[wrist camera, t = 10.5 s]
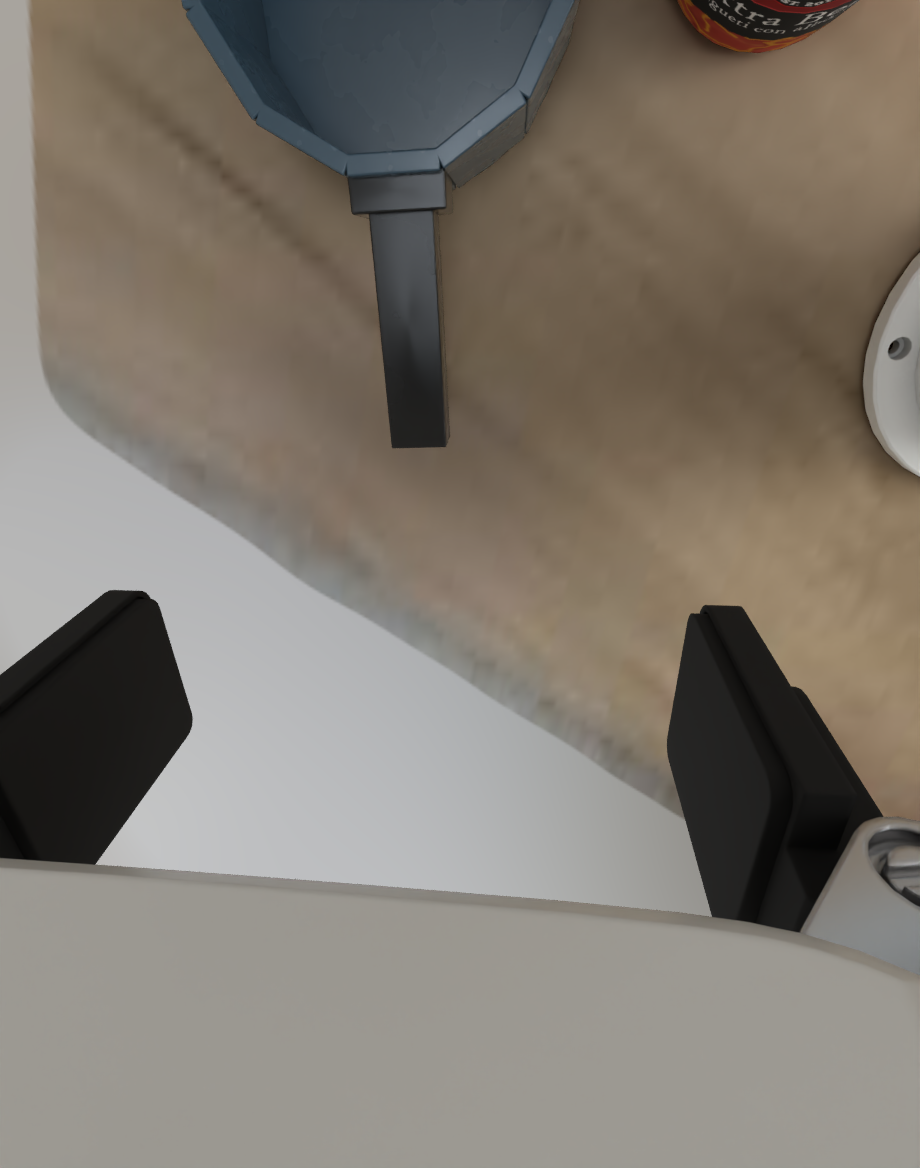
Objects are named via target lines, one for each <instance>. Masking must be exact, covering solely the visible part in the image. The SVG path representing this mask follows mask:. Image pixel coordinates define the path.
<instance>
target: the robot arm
mask: <svg viewBox="0 0 920 1168" xmlns="http://www.w3.org/2000/svg"><path fill="white" fill-rule="evenodd" d="M892 342H893V347H892V349H891V350H890V351H888V348H889V346H890V344H891V343H892ZM863 391H864V401H865V410H866V413H867V416H868V419H869V422H870V425H871V427H872V430H873V433H874V434H875V436H876V437H877V439H878V441H879V442H880V444H881V445H882V447H883V448H884V450H885V451H886V452H887V453H888V454H889V455H890V456H891V457H892V458H893V459H894V460H896V461H897V462H898V463H899V464H900V465H901V466H902V467H903V468H905V469H907V470H909V471H910V472H912V473H914V474H916V475H917V476H919V477H920V253H919V254H918V255H917V256H916V257H915V258H914V259H913V260H912V261H911V263H910V264H909V266H908V267H907V269H906V270H905V272H904V273H903V275H902V276H901V277H900V279H899V280H898V282H897V283H896V285H895V286H894V288H893V289H892V291H891V292H890V294H889V296H888V298H887V300H886V302H885V304H884V306H883V308H882V311H881V313H880V315H879V317H878V319H877V321H876V323H875V326H874V329H873V332H872V336H871V339H870V342H869V346H868V349H867V352H866V358H865V367H864V376H863ZM191 727H192V713H191V709H190V706H189V703H188V699H187V696H186V693H185V689H184V687H183V683H182V680H181V676H180V673H179V670H178V666H177V663H176V660H175V657H174V654H173V650H172V647H171V644H170V640H169V637H168V634H167V630H166V628H165V624H164V621H163V617H162V614H161V611H160V607H159V606H158V603H157V602H156V601H155V600H153V599H150V597H149V595H148V594H147V593H145V592H143V591H123V590H110V591H108V592H106V593H104V594H103V595H102V596H100V597H99V598H98V599H97V600H95V601H94V602H93V603H92V604H90V605H89V606H88V607H86V608H85V609H84V610H82V611H81V612H80V613H79V614H77V615H76V616H75V617H74V618H72V619H71V620H70V621H68V622H67V623H66V624H65V625H63V626H62V627H61V628H59V629H58V630H57V631H56V632H54V633H53V634H52V635H51V636H49V637H48V638H47V639H46V640H44V641H43V642H42V643H40V644H39V645H38V646H37V647H35V648H34V649H33V650H32V651H30V652H29V653H28V654H26V655H25V656H24V657H22V658H21V659H20V660H19V661H17V662H16V663H15V664H14V665H12V666H11V667H10V668H9V669H7V670H6V671H5V672H3V673H2V674H1V675H0V1168H920V821H916V820H911V819H906V818H902V817H883V815H882V814H881V812H880V810H879V809H878V807H877V806H876V804H875V802H874V801H873V799H872V798H871V796H870V795H869V793H868V791H867V790H866V788H865V787H864V785H863V784H862V782H861V780H860V779H859V777H858V776H857V774H856V773H855V771H854V769H853V768H852V766H851V765H850V763H849V762H848V760H847V758H846V757H845V755H844V754H843V752H842V750H841V749H840V747H839V746H838V744H837V743H836V741H835V739H834V738H833V736H832V735H831V733H830V732H829V730H828V728H827V727H826V725H825V724H824V722H823V721H822V719H821V717H820V716H819V714H818V713H817V711H816V710H815V708H814V706H813V705H812V703H811V702H810V700H809V698H808V697H807V695H806V694H805V693H804V692H803V691H802V690H801V689H799V688H797V687H791V686H790V684H789V682H788V681H787V679H786V678H785V676H784V674H783V673H782V671H781V669H780V668H779V666H778V664H777V663H776V661H775V660H774V658H773V656H772V655H771V653H770V651H769V650H768V648H767V646H766V645H765V643H764V642H763V640H762V638H761V637H760V635H759V633H758V632H757V630H756V628H755V627H754V625H753V624H752V622H751V620H750V619H749V617H748V615H747V614H746V612H745V610H744V609H743V608H742V607H741V606H716V605H704V606H703V607H702V609H701V611H700V614H690V616H689V618H688V622H687V628H686V634H685V639H684V645H683V651H682V657H681V662H680V668H679V674H678V680H677V685H676V691H675V697H674V702H673V708H672V714H671V720H670V725H669V731H668V738H667V753H668V759H669V763H670V766H671V770H672V774H673V777H674V781H675V784H676V788H677V792H678V795H679V799H680V802H681V806H682V810H683V813H684V817H685V821H686V824H687V828H688V831H689V835H690V838H691V842H692V845H693V849H694V852H695V856H696V860H697V864H698V867H699V871H700V875H701V878H702V882H703V885H704V889H705V893H706V896H707V900H708V903H709V907H710V911H711V914H712V917H709V916H701V915H694V914H687V913H679V912H669V911H660V910H659V911H658V910H649V909H639V908H629V907H619V906H609V905H598V904H588V903H578V902H568V901H558V900H546V899H534V898H521V897H509V896H496V895H484V894H472V893H460V892H448V891H436V890H423V889H410V888H399V887H386V886H374V885H362V884H349V883H335V882H322V881H309V880H296V879H283V878H270V877H257V876H243V875H230V874H217V873H203V872H190V871H176V870H163V869H149V868H135V867H121V866H105V865H95V864H96V863H97V861H98V860H99V858H100V857H101V856H102V854H103V853H104V852H105V850H106V849H107V847H108V846H109V845H110V843H111V842H112V840H113V839H114V838H115V836H116V835H117V833H118V832H119V831H120V829H121V828H122V827H123V825H124V824H125V822H126V821H127V820H128V818H129V817H130V815H131V814H132V813H133V811H134V810H135V808H136V807H137V806H138V804H139V803H140V801H141V800H142V799H143V797H144V796H145V794H146V793H147V792H148V790H149V789H150V788H151V786H152V785H153V783H154V782H155V781H156V779H157V778H158V776H159V775H160V774H161V772H162V771H163V769H164V768H165V767H166V765H167V764H168V763H169V761H170V760H171V758H172V757H173V755H174V754H175V753H176V751H177V750H178V749H179V747H180V746H181V744H182V743H183V742H184V740H185V739H186V737H187V736H188V734H189V733H190V730H191Z"/></svg>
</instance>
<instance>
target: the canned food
mask: <svg viewBox="0 0 920 1168" xmlns="http://www.w3.org/2000/svg"><path fill="white" fill-rule="evenodd" d="M677 1H678V3H679V5H680V7H681V9H682V11H683V13H684V15H685V16H686V18H687V19H688V20H689V21H690V22H691V24H692V25H693V26H694V27H695V29H696V30H697V31H698V32H699V33H701V34H702V35H704V36H705V37H706V38H708V39H709V40H711V41H712V42H713V43H715V44H718V45H721V46H723V47H726V48H729V49H732V50H735V51H740V52H754V53H760V52H766V51H771V50H777V49H782V48H784V47H787V46H789V45H791V44H794V43H796V42H799V41H801V40H803V39H805V38H807V37H809V36H810V35H812V34H813V33H815V32H816V31H818V30H819V29H821V28H822V27H824V26H825V25H827V24H828V23H830V22H831V21H832V20H834V19H835V18H836V17H838V16H839V15H840V14H842V13H843V12H844V11H846V10H847V9H848V8H850V7H851V6H852V5H854V4H855V3H856V2H858V1H859V0H677Z"/></svg>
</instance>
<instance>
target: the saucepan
mask: <svg viewBox="0 0 920 1168" xmlns="http://www.w3.org/2000/svg"><path fill="white" fill-rule="evenodd" d="M578 4H579V0H182V5H183V8H184V9H185V10H186V11H187V13H186V16H187V18H188V20H189V21H190V23H191V24H192V26H193V27H194V29H195V31H196V32H197V34H198V35H199V37H200V38H201V40H202V42H203V43H204V45H205V46H206V48H207V49H208V51H209V53H210V54H211V56H212V57H213V59H214V60H215V62H216V64H217V65H218V67H219V68H220V70H221V72H222V73H223V75H224V76H225V78H226V79H227V81H228V83H229V84H230V86H231V87H232V89H233V90H234V92H235V94H236V95H237V97H238V98H239V100H240V101H241V103H242V105H243V106H244V108H245V109H246V111H247V112H248V114H249V116H250V117H251V119H253V120H254V121H256V124H257V125H259V126H260V127H262V128H264V129H265V130H267V131H269V132H270V133H272V134H274V135H275V136H277V137H279V138H281V139H282V140H284V141H286V142H287V143H289V144H291V145H292V146H294V147H296V148H297V149H299V150H301V151H302V152H304V153H306V154H307V155H309V156H311V157H312V158H314V159H316V160H318V161H319V162H321V163H323V164H324V165H326V166H328V167H329V168H331V169H333V170H334V171H336V172H338V173H339V174H341V175H343V176H345V177H347V178H348V185H349V194H350V203H351V212H352V214H354V215H357V216H360V217H364V218H367V219H369V221H370V231H371V241H372V251H373V261H374V271H375V281H376V292H377V302H378V312H379V322H380V332H381V342H382V352H383V363H384V373H385V383H386V393H387V403H388V413H389V423H390V433H391V444H392V448H424V447H446V445H447V443H448V440H449V437H450V426H449V407H448V388H447V369H446V350H445V331H444V312H443V293H442V274H441V255H440V236H439V217H438V215H445V214H452V213H453V197H452V190H454V189H455V188H456V186H457V187H458V188H460V187H461V186H462V185H464V184H465V183H466V182H468V181H469V180H470V179H471V178H473V177H475V176H476V175H478V174H479V173H481V172H482V171H484V170H485V169H487V168H488V167H490V166H491V165H492V164H493V163H495V162H496V161H497V160H498V159H499V158H500V157H501V156H502V155H504V154H505V153H506V152H507V151H508V150H509V149H510V148H512V147H513V146H514V145H515V144H517V143H518V142H519V141H521V140H522V139H523V138H524V133H525V134H527V133H528V131H529V129H530V127H531V125H532V122H533V120H534V118H535V116H536V114H537V112H538V109H539V107H540V105H541V103H542V102H543V100H544V98H545V96H546V94H547V92H548V89H549V87H550V84H551V82H552V79H553V77H554V75H555V73H556V70H557V68H558V66H559V64H560V62H561V60H562V57H563V55H564V53H565V51H566V49H567V47H568V44H569V41H570V37H571V33H572V28H573V24H574V20H575V16H576V12H577V8H578Z"/></svg>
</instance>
